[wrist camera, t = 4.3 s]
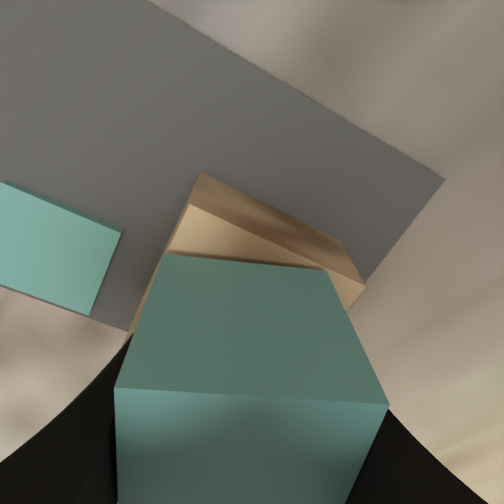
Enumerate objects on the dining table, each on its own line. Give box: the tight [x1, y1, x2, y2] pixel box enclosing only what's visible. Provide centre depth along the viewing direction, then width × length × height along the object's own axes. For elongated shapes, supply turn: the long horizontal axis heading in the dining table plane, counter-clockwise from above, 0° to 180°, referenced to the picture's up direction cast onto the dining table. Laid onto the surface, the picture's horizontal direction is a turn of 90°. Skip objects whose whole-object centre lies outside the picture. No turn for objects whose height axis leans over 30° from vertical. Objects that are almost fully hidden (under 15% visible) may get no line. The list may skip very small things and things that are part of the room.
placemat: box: [0, 0, 445, 332], centre depth 16 cm, size 18×14×1 cm
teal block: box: [114, 254, 390, 504], centre depth 11 cm, size 6×6×6 cm
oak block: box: [122, 171, 367, 347], centre depth 15 cm, size 7×7×4 cm
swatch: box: [0, 180, 123, 315], centre depth 16 cm, size 5×5×1 cm
